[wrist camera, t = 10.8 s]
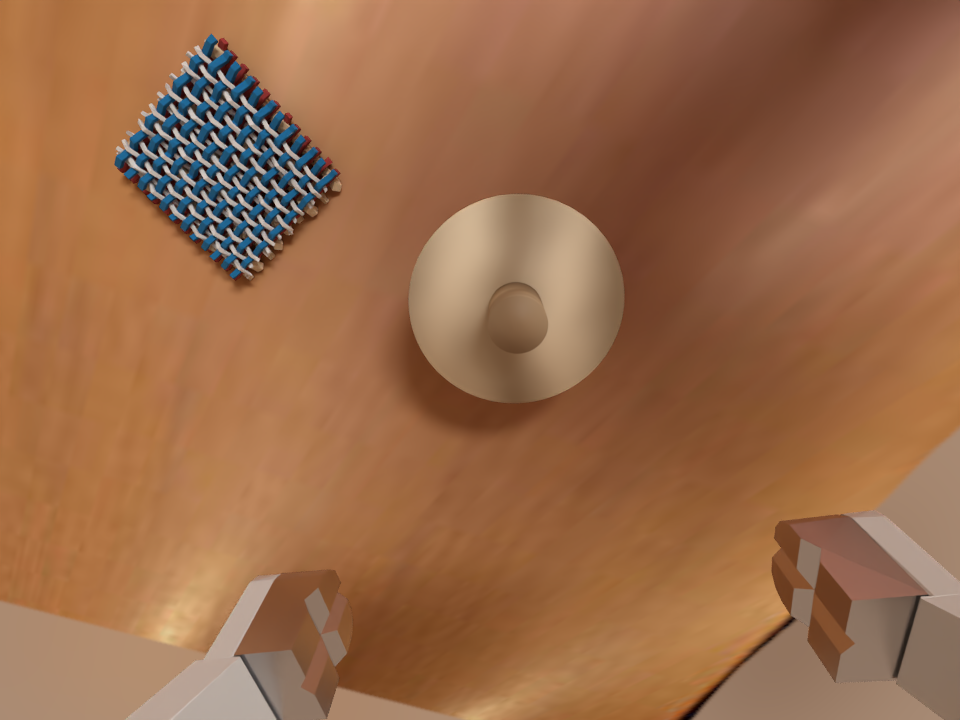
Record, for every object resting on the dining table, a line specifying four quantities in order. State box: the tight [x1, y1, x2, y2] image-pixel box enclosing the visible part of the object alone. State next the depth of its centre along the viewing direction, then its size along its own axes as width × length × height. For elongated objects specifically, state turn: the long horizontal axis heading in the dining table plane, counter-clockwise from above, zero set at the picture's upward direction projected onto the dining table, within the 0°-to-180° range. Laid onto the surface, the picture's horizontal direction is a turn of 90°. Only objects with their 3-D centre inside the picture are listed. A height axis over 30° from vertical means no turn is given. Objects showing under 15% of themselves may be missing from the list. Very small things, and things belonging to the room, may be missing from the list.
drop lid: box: [408, 194, 624, 403], centre depth 24 cm, size 12×12×4 cm
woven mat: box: [114, 34, 342, 281], centre depth 28 cm, size 10×11×2 cm
